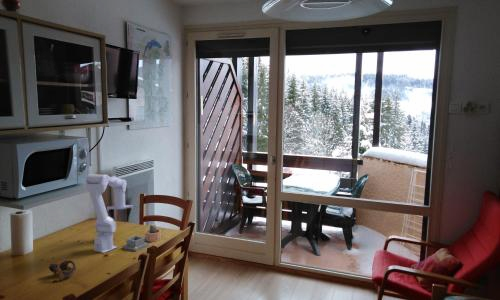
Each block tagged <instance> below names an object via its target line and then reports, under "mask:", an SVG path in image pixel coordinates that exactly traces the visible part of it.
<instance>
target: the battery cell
mask: <svg viewBox="0 0 500 300" xmlns="http://www.w3.org/2000/svg"><path fill="white" fill-rule="evenodd" d="M149 229H150V233H156V229H157V225H156V224H151V225H149Z"/></svg>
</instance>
